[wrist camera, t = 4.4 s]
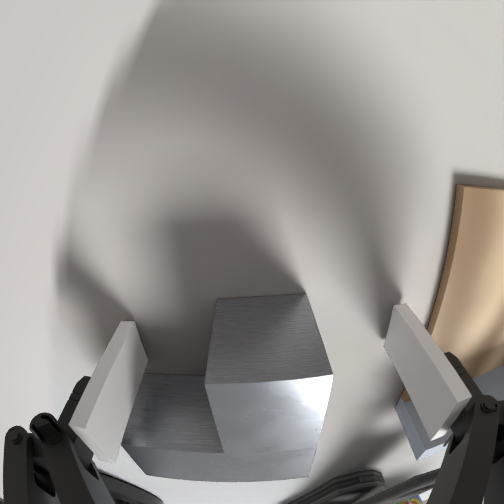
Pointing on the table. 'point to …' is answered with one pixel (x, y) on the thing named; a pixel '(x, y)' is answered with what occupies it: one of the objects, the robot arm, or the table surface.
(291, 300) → the angle bracket
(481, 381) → the corner walls
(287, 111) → the table surface
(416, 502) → the snack cup
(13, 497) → the robot arm
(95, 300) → the table surface
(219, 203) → the table surface
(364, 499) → the zipper pull
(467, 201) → the cork mat
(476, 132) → the table surface
